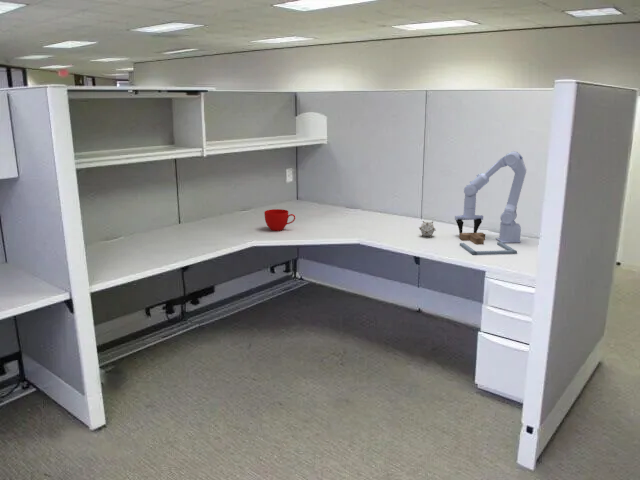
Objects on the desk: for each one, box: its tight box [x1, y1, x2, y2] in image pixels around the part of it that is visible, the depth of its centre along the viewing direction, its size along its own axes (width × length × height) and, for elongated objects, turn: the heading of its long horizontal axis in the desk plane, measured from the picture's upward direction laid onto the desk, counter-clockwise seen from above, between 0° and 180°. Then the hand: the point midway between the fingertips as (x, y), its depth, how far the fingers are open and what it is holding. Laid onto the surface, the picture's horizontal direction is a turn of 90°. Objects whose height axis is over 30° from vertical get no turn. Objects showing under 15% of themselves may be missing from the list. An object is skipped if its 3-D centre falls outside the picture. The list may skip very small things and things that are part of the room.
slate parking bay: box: [459, 241, 518, 256], centre depth 256 cm, size 21×17×1 cm
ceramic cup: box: [263, 208, 296, 232], centre depth 294 cm, size 13×17×10 cm
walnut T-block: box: [458, 232, 486, 246], centre depth 271 cm, size 12×12×3 cm
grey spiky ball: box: [418, 220, 437, 238], centre depth 280 cm, size 9×8×10 cm
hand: (467, 233), depth 281 cm, fingers open, 7 cm apart
